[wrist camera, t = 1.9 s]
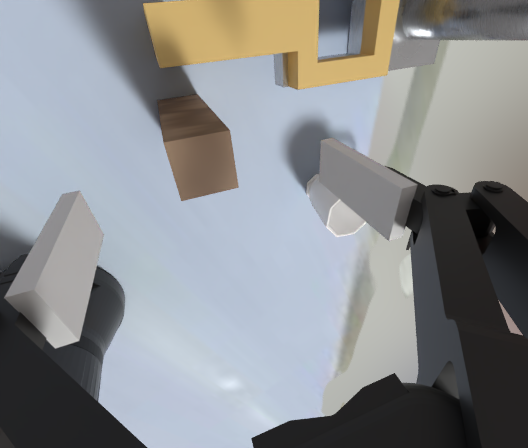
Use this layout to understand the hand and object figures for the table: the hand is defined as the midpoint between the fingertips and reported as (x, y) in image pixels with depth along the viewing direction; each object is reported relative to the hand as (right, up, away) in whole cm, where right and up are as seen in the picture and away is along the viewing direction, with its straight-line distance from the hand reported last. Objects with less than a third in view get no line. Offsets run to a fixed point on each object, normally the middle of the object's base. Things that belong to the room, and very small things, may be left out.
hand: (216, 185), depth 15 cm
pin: (-6, +9, +13) cm, 17 cm away
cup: (+12, +4, +24) cm, 28 cm away
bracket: (+2, +17, +11) cm, 20 cm away
